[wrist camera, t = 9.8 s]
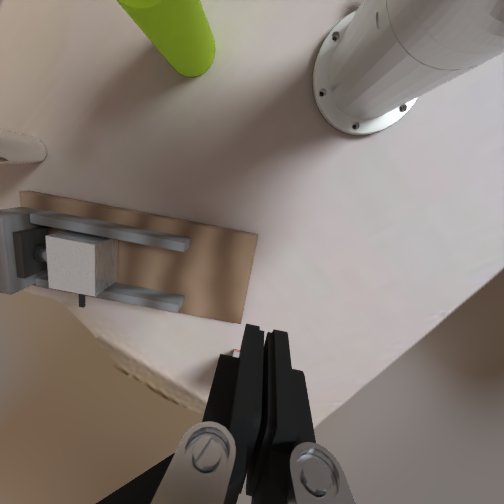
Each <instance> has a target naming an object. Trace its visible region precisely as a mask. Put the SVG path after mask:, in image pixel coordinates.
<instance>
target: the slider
mask: <svg viewBox="0 0 504 504" xmlns="http://www.w3.org/2000/svg"><path fill="white" fill-rule="evenodd" d="M45 237H46V244H38V245H37V246H36V247H35V248H34V250H33V258H34V259H35V260H36V261H40V262H45V263H47V267H48V282H49V288H52V289H57V290H62V291H68V292H73V293H78V294H79V307H85V295H89V296H94V297H95V296H97V295H98V294H99V293H101V292H102V291H104V290H105V289H106V288H108V287H109V286H111V285H112V284H114V283H115V282H116V281H117V260H118V239H113V238H107V237H102V236H97V235H91V234H86V233H81V232H76V231H70V230H64V231H61V232H57V233H53V234H50V235H46V236H45Z"/></svg>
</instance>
